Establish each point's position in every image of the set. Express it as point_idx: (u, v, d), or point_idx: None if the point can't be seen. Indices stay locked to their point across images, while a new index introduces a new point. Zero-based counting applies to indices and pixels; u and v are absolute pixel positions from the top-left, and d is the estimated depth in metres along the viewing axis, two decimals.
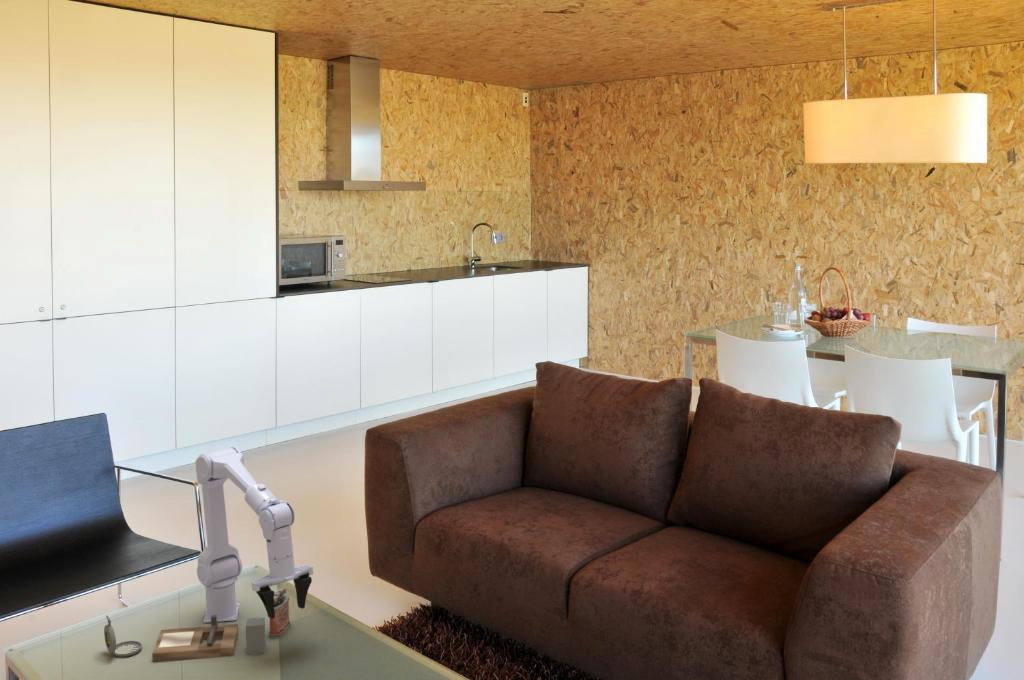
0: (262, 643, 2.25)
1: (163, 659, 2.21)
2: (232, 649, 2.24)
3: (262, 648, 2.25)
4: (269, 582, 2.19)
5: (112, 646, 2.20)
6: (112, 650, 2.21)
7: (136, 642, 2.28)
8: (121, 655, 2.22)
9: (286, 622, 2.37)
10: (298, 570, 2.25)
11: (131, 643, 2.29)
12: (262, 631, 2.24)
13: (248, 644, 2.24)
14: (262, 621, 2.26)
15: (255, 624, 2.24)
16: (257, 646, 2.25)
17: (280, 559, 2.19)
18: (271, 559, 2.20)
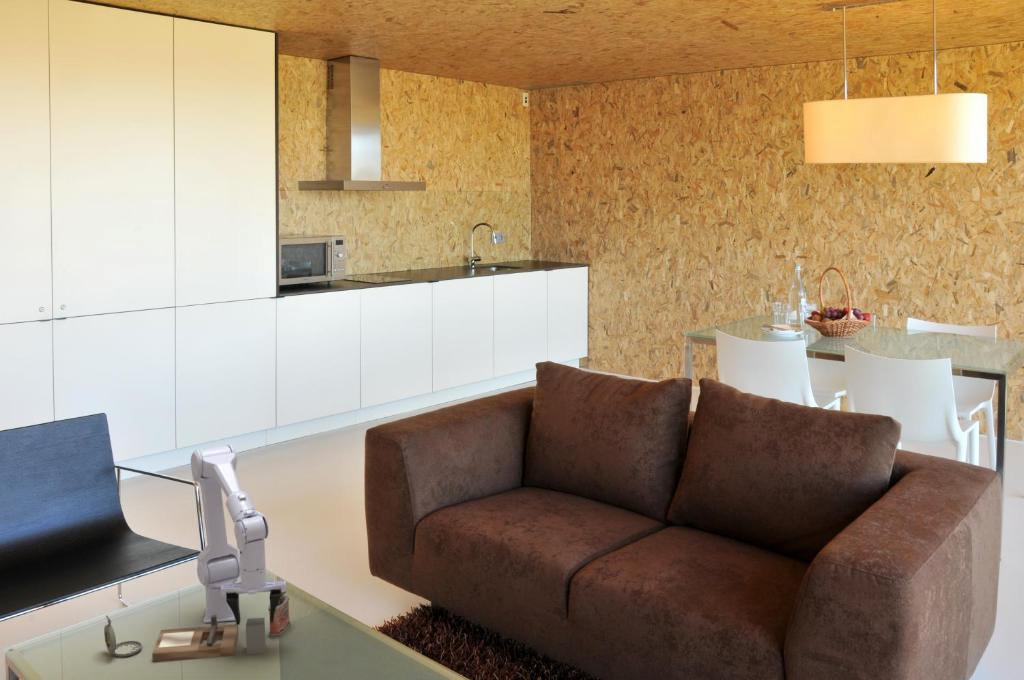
0: (262, 643, 2.25)
1: (163, 659, 2.21)
2: (232, 649, 2.24)
3: (262, 648, 2.25)
4: (234, 590, 2.22)
5: (112, 646, 2.20)
6: (112, 650, 2.21)
7: (136, 642, 2.28)
8: (121, 655, 2.22)
9: (286, 622, 2.37)
10: (271, 584, 2.25)
11: (131, 643, 2.29)
12: (262, 631, 2.24)
13: (248, 644, 2.24)
14: (262, 621, 2.26)
15: (255, 624, 2.24)
16: (257, 646, 2.25)
17: (246, 571, 2.21)
18: (240, 569, 2.22)
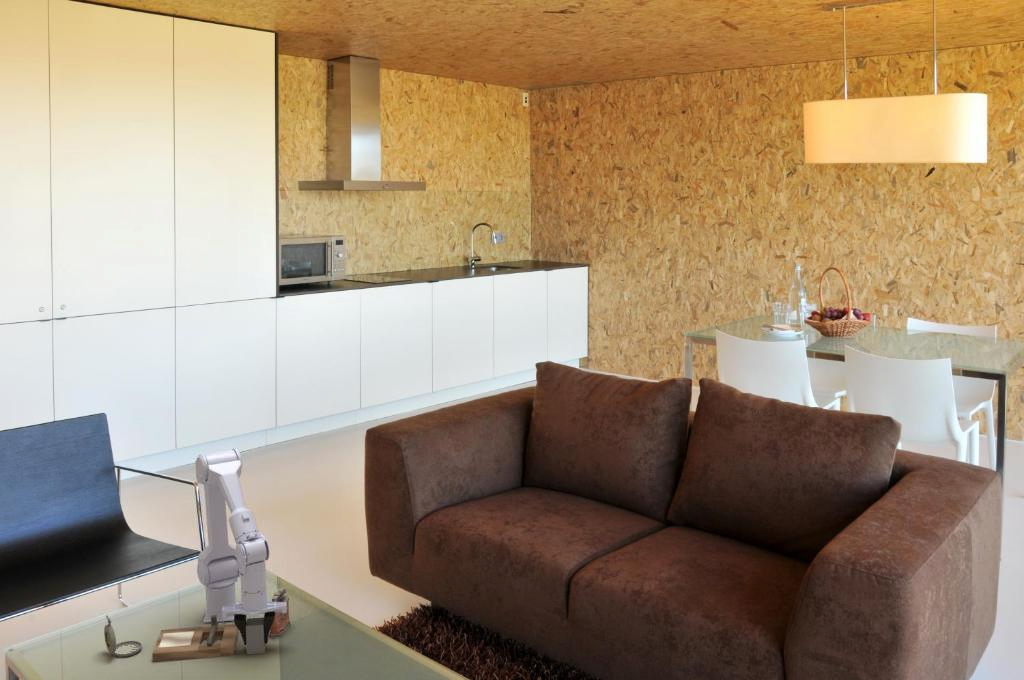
0: (262, 643, 2.25)
1: (163, 659, 2.21)
2: (232, 649, 2.24)
3: (262, 648, 2.25)
4: (235, 612, 2.23)
5: (112, 646, 2.20)
6: (112, 650, 2.21)
7: (136, 642, 2.28)
8: (121, 655, 2.22)
9: (286, 622, 2.37)
10: (271, 605, 2.26)
11: (131, 643, 2.29)
12: (262, 631, 2.24)
13: (248, 644, 2.24)
14: (262, 621, 2.26)
15: (255, 624, 2.24)
16: (257, 646, 2.25)
17: (247, 593, 2.22)
18: (241, 590, 2.23)
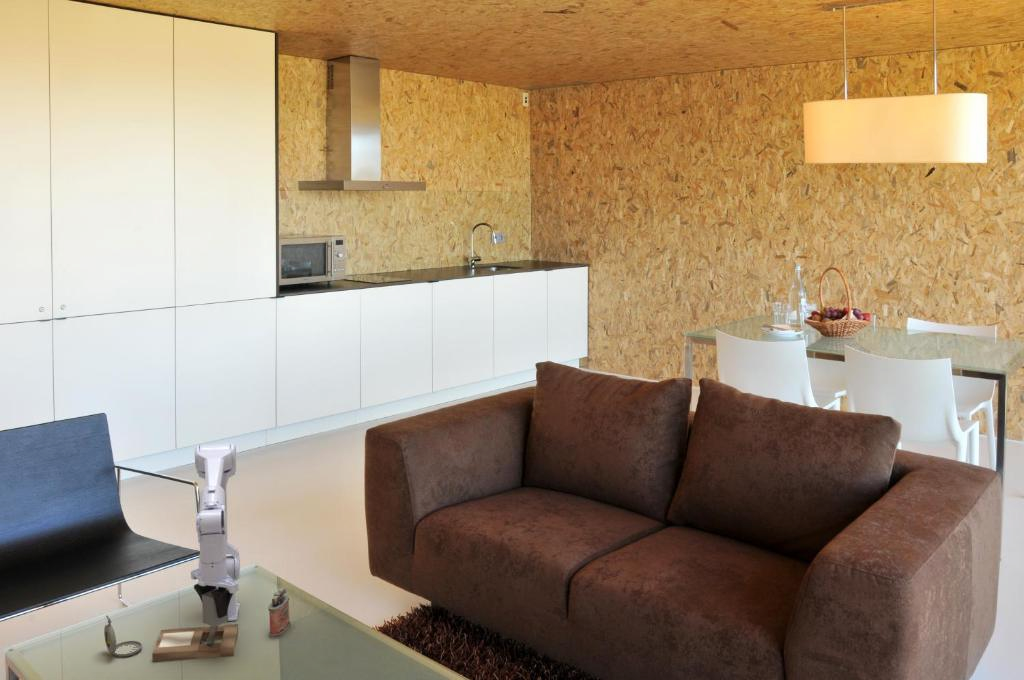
0: (213, 617, 2.23)
1: (163, 659, 2.21)
2: (232, 649, 2.24)
3: (213, 622, 2.23)
4: (196, 577, 2.25)
5: (112, 646, 2.20)
6: (112, 650, 2.21)
7: (136, 642, 2.28)
8: (121, 655, 2.22)
9: (286, 622, 2.37)
10: (224, 582, 2.22)
11: (131, 643, 2.29)
12: (212, 605, 2.22)
13: (204, 613, 2.25)
14: None
15: (210, 596, 2.23)
16: (209, 618, 2.24)
17: (200, 561, 2.22)
18: None
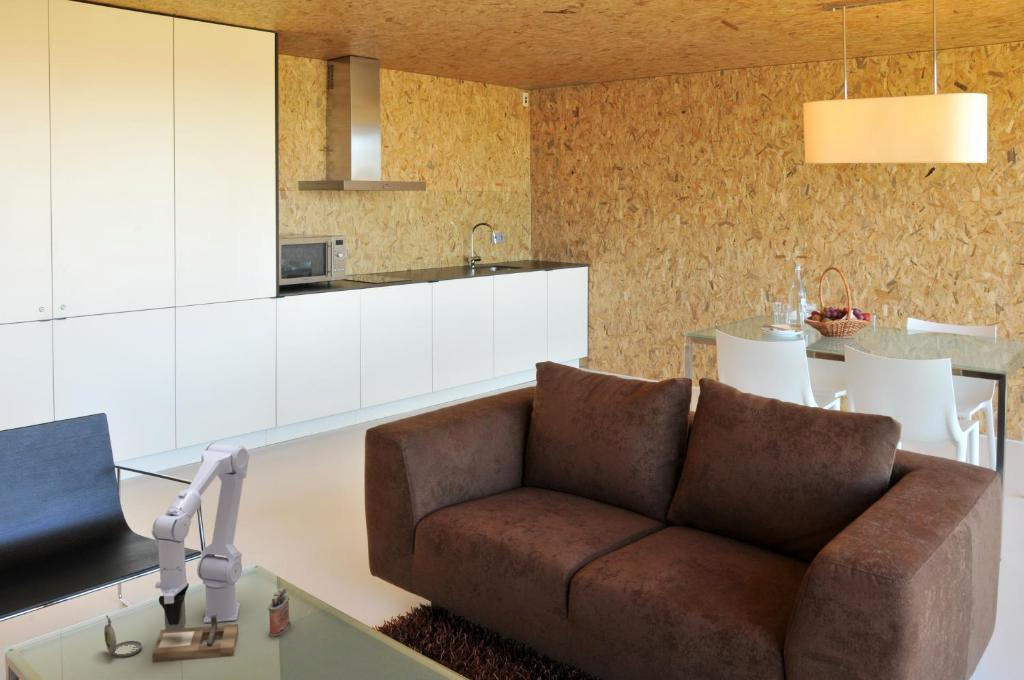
0: (165, 621, 2.24)
1: (163, 659, 2.21)
2: (232, 649, 2.24)
3: (165, 626, 2.24)
4: None
5: (112, 646, 2.20)
6: (112, 650, 2.21)
7: (136, 642, 2.28)
8: (121, 655, 2.22)
9: (286, 622, 2.37)
10: (170, 590, 2.21)
11: (131, 643, 2.29)
12: None
13: None
14: None
15: None
16: None
17: None
18: None
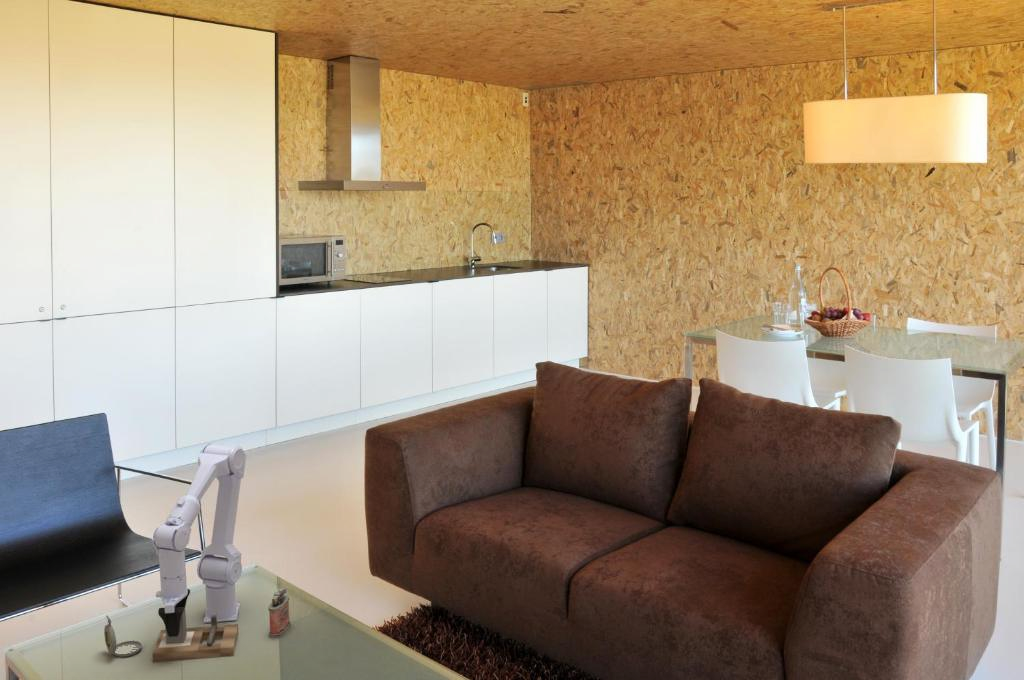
0: (166, 633, 2.25)
1: (163, 659, 2.21)
2: (232, 649, 2.24)
3: (166, 638, 2.25)
4: None
5: (112, 646, 2.20)
6: (112, 650, 2.21)
7: (136, 642, 2.28)
8: (121, 655, 2.22)
9: (286, 622, 2.37)
10: (170, 600, 2.21)
11: (131, 643, 2.29)
12: None
13: None
14: None
15: None
16: None
17: None
18: None
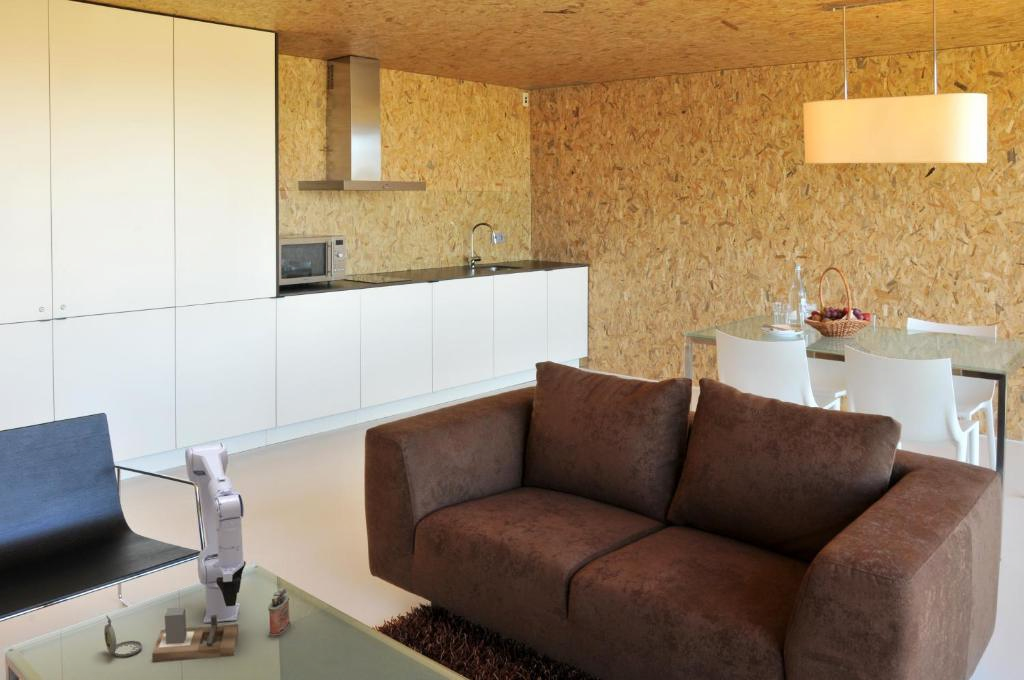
0: (166, 633, 2.25)
1: (163, 659, 2.21)
2: (232, 649, 2.24)
3: (166, 638, 2.25)
4: None
5: (112, 646, 2.20)
6: (112, 650, 2.21)
7: (136, 642, 2.28)
8: (121, 655, 2.22)
9: (286, 622, 2.37)
10: None
11: (131, 643, 2.29)
12: (165, 621, 2.24)
13: None
14: (173, 614, 2.24)
15: (168, 612, 2.25)
16: None
17: None
18: None
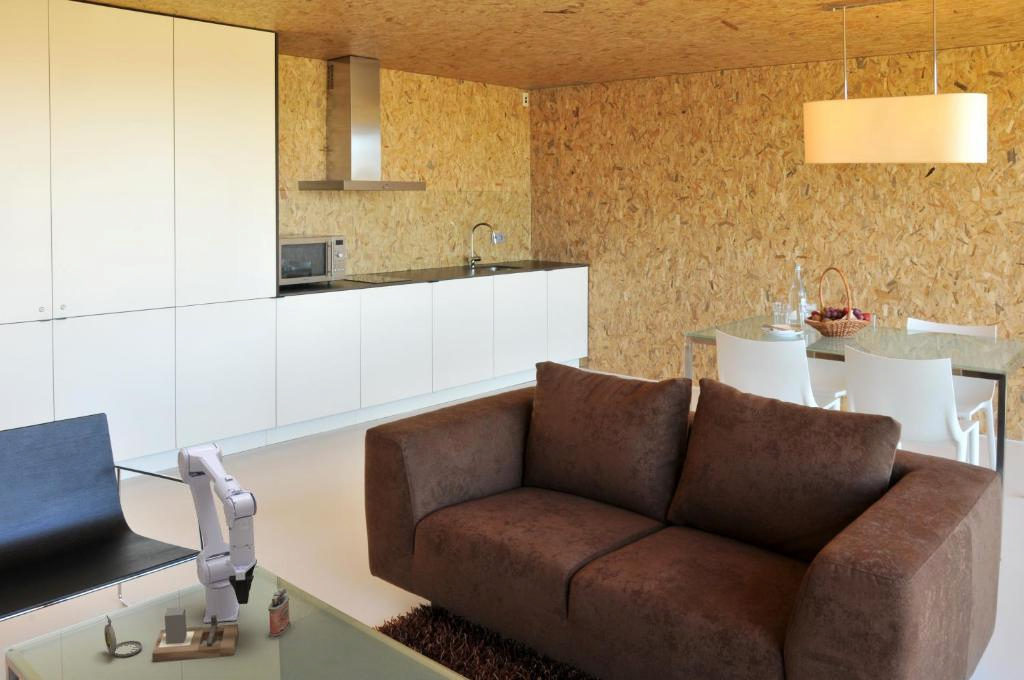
0: (166, 633, 2.25)
1: (163, 659, 2.21)
2: (232, 649, 2.24)
3: (166, 638, 2.25)
4: None
5: (112, 646, 2.20)
6: (112, 650, 2.21)
7: (136, 642, 2.29)
8: (121, 655, 2.22)
9: (286, 622, 2.37)
10: None
11: (131, 643, 2.29)
12: (165, 621, 2.24)
13: None
14: (173, 614, 2.24)
15: (168, 612, 2.25)
16: None
17: None
18: None
